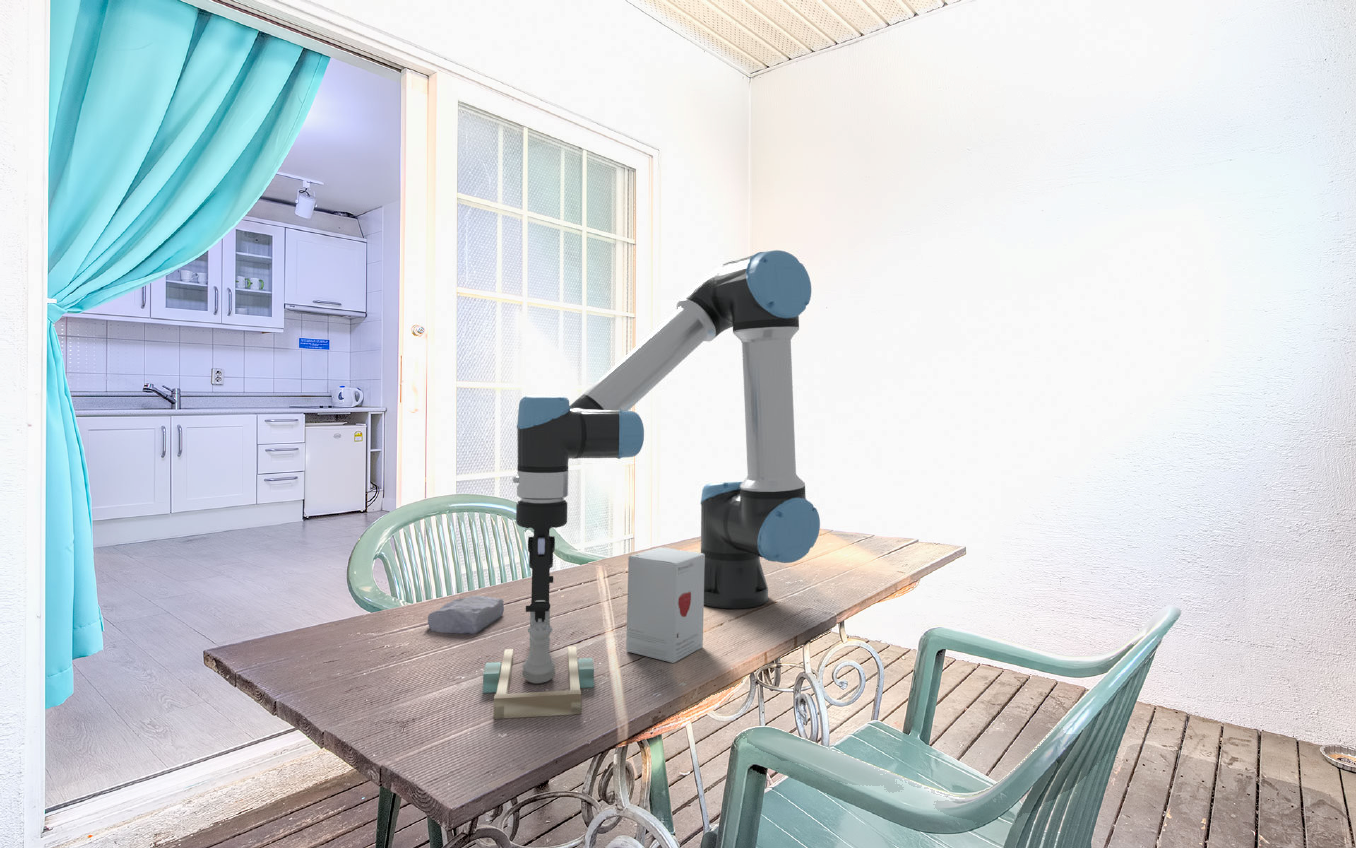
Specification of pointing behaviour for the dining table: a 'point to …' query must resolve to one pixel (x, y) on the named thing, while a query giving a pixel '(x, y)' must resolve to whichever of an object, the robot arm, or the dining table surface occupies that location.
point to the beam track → (537, 701)
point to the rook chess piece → (539, 654)
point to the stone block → (466, 615)
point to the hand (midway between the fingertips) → (539, 640)
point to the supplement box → (665, 603)
